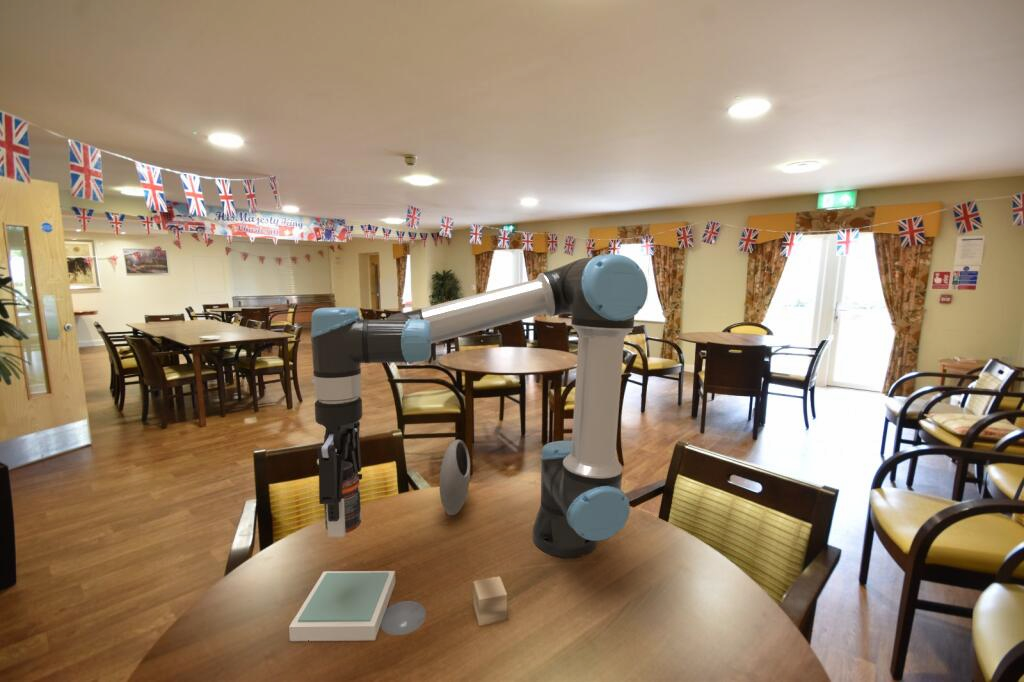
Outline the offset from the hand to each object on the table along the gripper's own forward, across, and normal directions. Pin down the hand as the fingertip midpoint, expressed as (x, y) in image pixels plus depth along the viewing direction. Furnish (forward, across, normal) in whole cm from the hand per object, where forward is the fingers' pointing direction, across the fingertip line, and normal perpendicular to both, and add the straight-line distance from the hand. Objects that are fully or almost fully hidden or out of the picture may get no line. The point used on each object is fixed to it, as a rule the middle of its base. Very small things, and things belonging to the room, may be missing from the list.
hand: (343, 524), depth 77 cm
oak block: (+17, +1, +26) cm, 31 cm away
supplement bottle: (0, 0, 0) cm, 0 cm away
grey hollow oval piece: (+17, -35, +16) cm, 42 cm away
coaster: (+17, +2, +10) cm, 20 cm away
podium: (+16, 0, 0) cm, 16 cm away
